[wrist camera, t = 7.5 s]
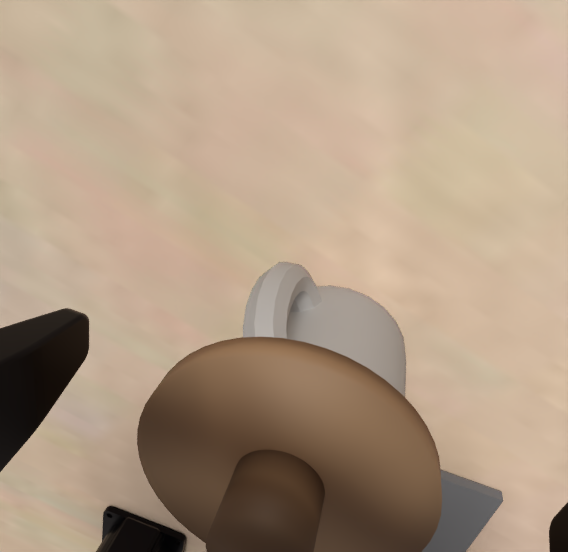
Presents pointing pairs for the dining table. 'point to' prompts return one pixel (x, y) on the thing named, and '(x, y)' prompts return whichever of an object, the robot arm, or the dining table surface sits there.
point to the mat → (462, 513)
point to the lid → (289, 452)
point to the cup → (326, 320)
